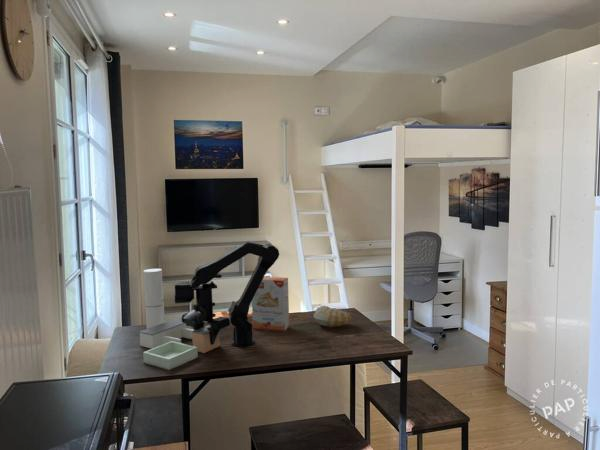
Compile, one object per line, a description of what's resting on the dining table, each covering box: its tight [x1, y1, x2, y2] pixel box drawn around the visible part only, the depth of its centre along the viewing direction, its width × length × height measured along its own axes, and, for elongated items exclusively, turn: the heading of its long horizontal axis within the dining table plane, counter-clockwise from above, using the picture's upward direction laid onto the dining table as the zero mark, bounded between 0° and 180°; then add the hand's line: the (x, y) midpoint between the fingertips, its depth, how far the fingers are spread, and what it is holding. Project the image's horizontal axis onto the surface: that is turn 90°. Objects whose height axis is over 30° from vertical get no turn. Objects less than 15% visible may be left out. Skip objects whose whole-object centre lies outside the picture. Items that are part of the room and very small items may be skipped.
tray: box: [142, 341, 199, 371], centre depth 159 cm, size 13×13×4 cm
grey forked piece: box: [138, 317, 194, 349], centre depth 177 cm, size 16×20×5 cm
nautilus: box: [313, 304, 352, 328], centre depth 194 cm, size 8×22×15 cm
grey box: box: [191, 324, 221, 354], centre depth 169 cm, size 6×8×7 cm
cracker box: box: [251, 276, 290, 332], centre depth 189 cm, size 14×6×21 cm, turn 73°
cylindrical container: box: [143, 268, 166, 329], centre depth 190 cm, size 7×7×25 cm
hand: (206, 343), depth 169 cm, fingers closed on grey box, 5 cm apart
